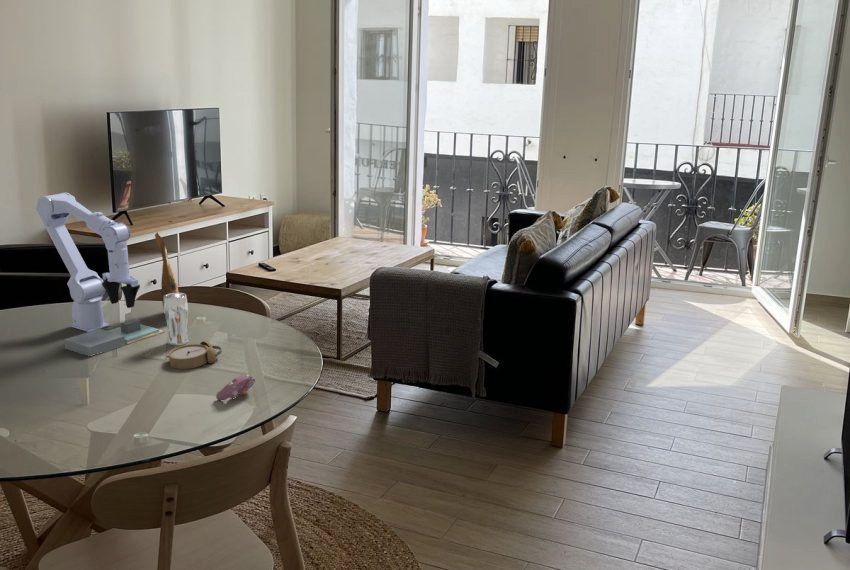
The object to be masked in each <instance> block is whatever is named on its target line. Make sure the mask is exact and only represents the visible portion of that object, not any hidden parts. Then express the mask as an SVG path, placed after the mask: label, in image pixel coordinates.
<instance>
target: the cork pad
mask: <svg viewBox="0 0 850 570" xmlns="http://www.w3.org/2000/svg"><path fill="white" fill-rule="evenodd" d="M165 332H166V331H165V330H161V329H159V332H157V333H154V334H151V335H148V336H145V337H142V338H139V339H136V340H133V341H130V342H125V345H130V344H133V343H137V342H140V341H143V340H145V339H148V338H151V337H154V336H155V337H156V336H157V334H158V335H160V334H164V333H165Z"/></svg>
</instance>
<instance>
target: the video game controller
mask: <svg viewBox="0 0 850 570" xmlns="http://www.w3.org/2000/svg"><path fill="white" fill-rule="evenodd" d="M255 382H256V379H255V378H254V377H253V376H251V375H249V374H248V373H247V374H245V375H239V376H236V377H234V378H233V379H232V380H231V381H229V382H228V383H227V384H225V386H224V387H223V388H221V390H219V391H217V392H216V396H215V398H216V400H217V399H218V400H217V401H219V400H224V401H225V400H228V399H231V398H232V399H233V398H235V397H237V398H238V397H239V395H240V396H241V395H242V396H244V395H246V393H247V392H248V391H249V389H250V388H252V387H253V385H254V384H255ZM243 394H244V395H243ZM232 399H231V400H232Z"/></svg>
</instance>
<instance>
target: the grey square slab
mask: <svg viewBox="0 0 850 570" xmlns="http://www.w3.org/2000/svg"><path fill="white" fill-rule="evenodd" d="M124 346H126V344H125V338H124V336H122V335H119V334H115V333H112V332H109V330H105V329H103V328H101V329H97V330H93V331H90V332H87V331H86V332H84V333H81V334H79V335H78V334H77V335H74V336H70V337H67V338H64V348H65V350H68V351H70V352H73V351H74V352H73V353H76V352H77V353H76V354H79V355H83V354H85V355H84V356H86V355H89V356H91V355H93V354H97V353H100V352H104V353H106V352H105V351H107V352H110V351H112V350H115V349H119V348H121V347H124ZM89 356H88V357H89Z"/></svg>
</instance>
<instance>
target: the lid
mask: <svg viewBox="0 0 850 570" xmlns="http://www.w3.org/2000/svg"><path fill="white" fill-rule="evenodd" d="M119 325H120V326H118V327H116V328H112V329H110V330H108V331H109V332H112V333H115V334H119V335H122V336H124V338H125V342H130V341H133V340H136V339H139V338H142V337H145V336H148V335H151V334H154V333H157V332H159V330H160V328H156V327H152V326H149V325H145V324H142V323H141V321H140V319H135V318H133V319H128V320H126V321H123V322H122V321H121V322H120V324H119Z"/></svg>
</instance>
